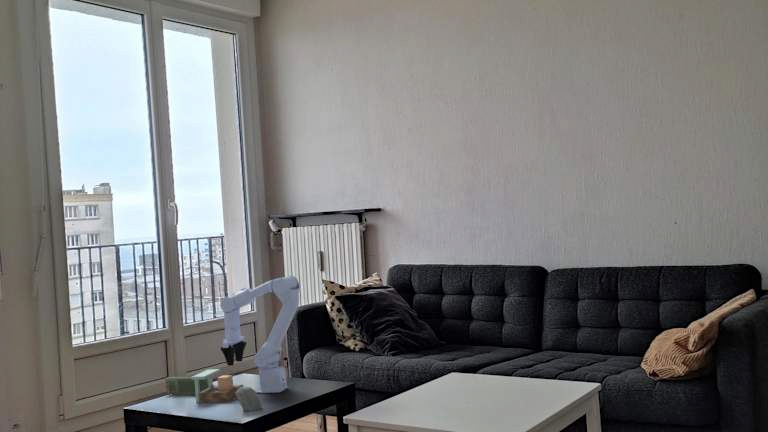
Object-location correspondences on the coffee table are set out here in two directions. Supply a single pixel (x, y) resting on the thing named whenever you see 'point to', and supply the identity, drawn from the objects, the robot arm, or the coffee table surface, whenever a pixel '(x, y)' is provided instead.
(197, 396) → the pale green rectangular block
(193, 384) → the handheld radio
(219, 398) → the socket plate
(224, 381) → the tan peg
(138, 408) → the coffee table surface
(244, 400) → the mineral specimen
